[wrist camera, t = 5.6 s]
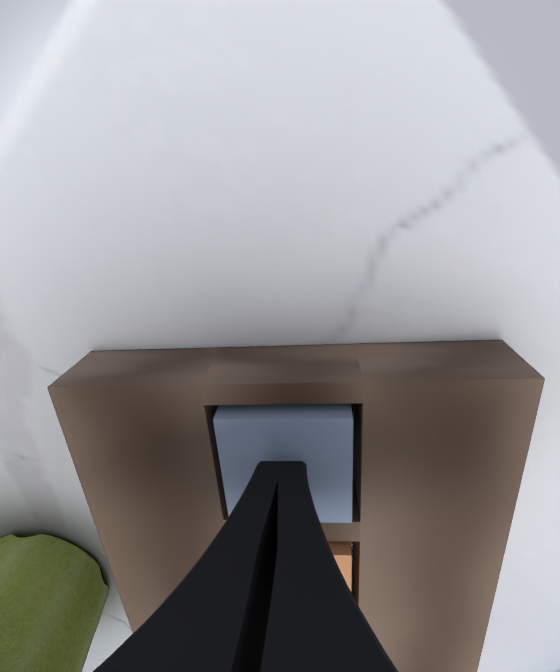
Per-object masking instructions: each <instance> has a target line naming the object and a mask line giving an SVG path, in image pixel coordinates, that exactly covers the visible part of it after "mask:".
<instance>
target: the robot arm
mask: <svg viewBox="0 0 560 672" xmlns="http://www.w3.org/2000/svg"><path fill="white" fill-rule="evenodd" d="M93 672H398V670H397V669H396V667H395V666H394V664H393V663H392V661H391V659H390V658H389V656H388V655H387V653H386V652H385V650H384V648H383V647H382V645H381V643H380V642H379V640H378V638H377V637H376V635H375V633H374V632H373V630H372V628H371V627H370V625H369V623H368V621H367V620H366V618H365V616H364V615H363V613H362V611H361V610H360V608H359V606H358V604H357V602H356V600H355V598H354V596H353V595H352V593H351V591H350V589H349V587H348V585H347V583H346V581H345V579H344V577H343V575H342V573H341V571H340V569H339V567H338V565H337V562H336V560H335V558H334V556H333V553H332V551H331V549H330V546H329V544H328V542H327V539H326V537H325V534H324V532H323V529H322V526H321V524H320V521H319V518H318V515H317V512H316V509H315V506H314V503H313V499H312V496H311V492H310V488H309V483H308V478H307V464H305V463H304V462H303V461H260V462H259V463H258V464H257V466H256V468H255V470H254V472H253V475H252V477H251V479H250V481H249V482H248V484H247V486H246V488H245V490H244V492H243V493H242V495H241V497H240V499H239V500H238V502H237V504H236V505H235V507H234V509H233V510H232V512H231V514H230V515H229V517H228V519H227V520H226V522H225V523H224V525H223V526H222V528H221V529H220V530H219V532H218V533H217V535H216V536H215V538H214V539H213V541H212V542H211V544H210V545H209V546H208V548H207V549H206V551H205V552H204V553H203V555H202V556H201V557H200V559H199V560H198V561H197V562H196V564H195V565H194V566H193V568H192V569H191V570H190V571H189V573H188V574H187V575H186V576H185V577H184V579H183V580H182V581H181V582H180V584H179V585H178V586H177V587H176V588H175V589H174V590H173V591H172V593H171V594H170V595H169V596H168V597H167V598H166V599H165V601H164V602H163V603H162V604H161V605H160V606H159V607H158V608H157V609H156V611H155V612H154V613H153V614H152V615H151V616H150V617H149V618H148V619H147V620H146V621H145V622H144V623H143V624H142V625H141V626H140V627H139V628H138V629H137V630H136V631H135V632H134V633H133V634H132V635H131V636H130V637H129V638H128V639H127V640H126V641H125V642H124V643H123V644H122V645H121V646H120V647H119V648H118V649H117V650H116V651H115V652H114V653H113V654H112V655H111V656H109V657H108V658H107V659H106V660H105V661H104V662H103V663H102V664H101V665H100V666H99V667H97V668H96V669H95V670H94V671H93Z"/></svg>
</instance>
